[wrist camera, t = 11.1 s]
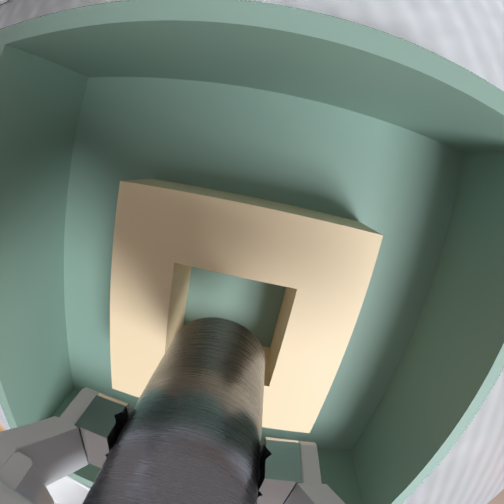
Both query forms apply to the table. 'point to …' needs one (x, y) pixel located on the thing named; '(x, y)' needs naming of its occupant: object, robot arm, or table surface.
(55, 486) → the food container
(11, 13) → the table surface
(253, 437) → the peg
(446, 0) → the table surface
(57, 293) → the peg box
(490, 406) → the table surface
